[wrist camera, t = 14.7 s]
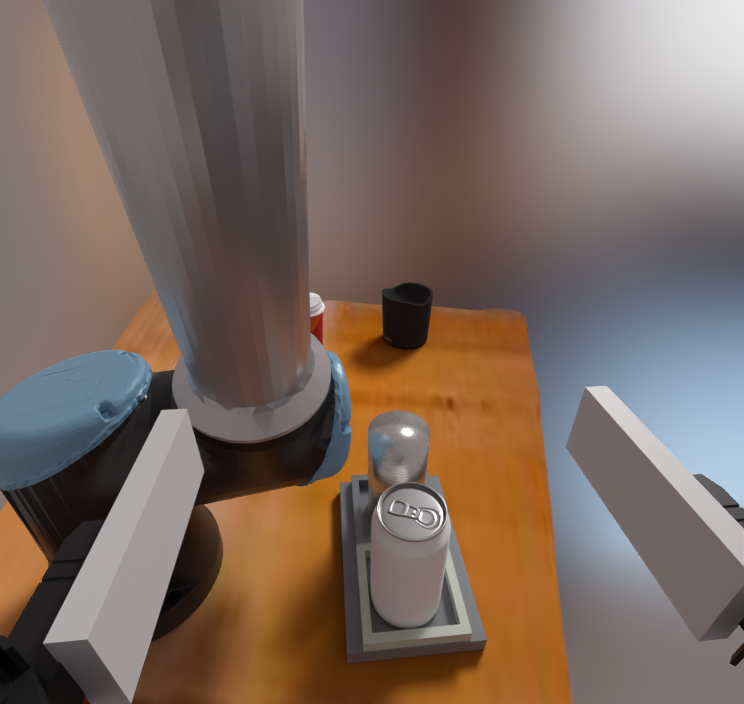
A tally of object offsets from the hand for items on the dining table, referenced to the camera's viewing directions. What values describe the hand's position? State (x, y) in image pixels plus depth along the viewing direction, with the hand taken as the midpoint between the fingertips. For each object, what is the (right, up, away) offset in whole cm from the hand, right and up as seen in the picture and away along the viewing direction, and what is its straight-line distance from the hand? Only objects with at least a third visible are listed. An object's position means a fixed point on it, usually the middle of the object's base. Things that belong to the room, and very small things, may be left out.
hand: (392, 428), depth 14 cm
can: (+2, -20, +26) cm, 33 cm away
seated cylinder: (+2, -15, +33) cm, 37 cm away
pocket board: (+2, -19, +30) cm, 36 cm away
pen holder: (+6, +5, +70) cm, 71 cm away
